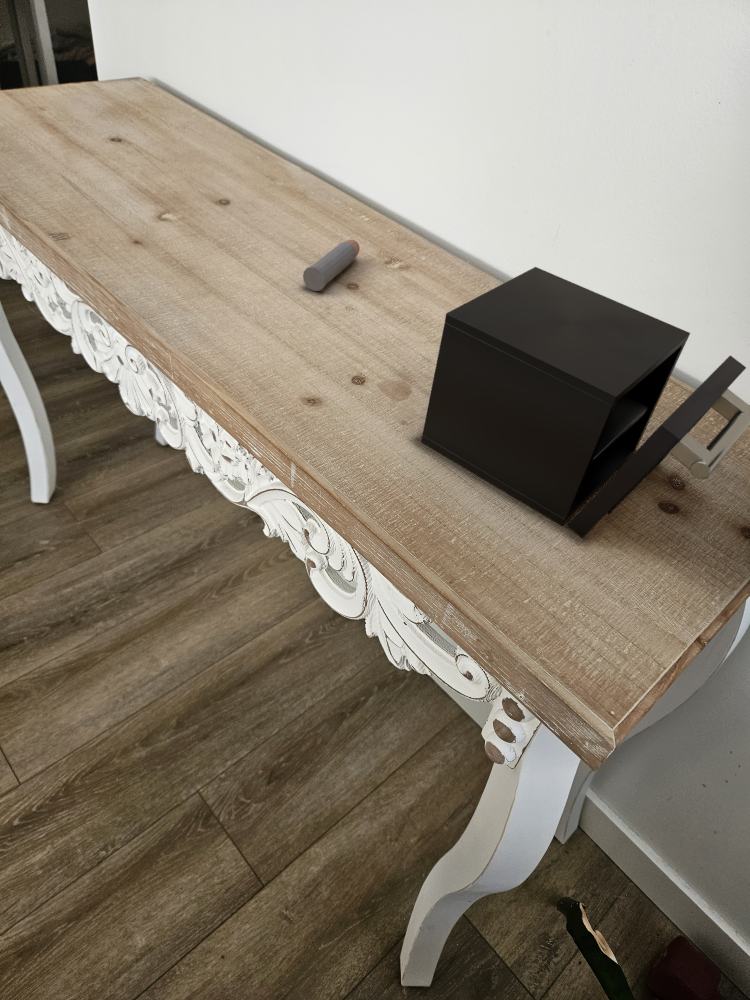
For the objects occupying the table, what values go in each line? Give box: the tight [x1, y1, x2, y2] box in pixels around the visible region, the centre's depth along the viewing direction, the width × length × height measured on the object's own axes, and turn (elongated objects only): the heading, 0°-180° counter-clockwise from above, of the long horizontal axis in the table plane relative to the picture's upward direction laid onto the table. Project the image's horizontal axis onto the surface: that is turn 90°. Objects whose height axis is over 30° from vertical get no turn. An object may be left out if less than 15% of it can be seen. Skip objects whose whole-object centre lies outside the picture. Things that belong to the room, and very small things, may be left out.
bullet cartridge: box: [302, 239, 360, 292], centre depth 86 cm, size 11×3×3 cm, turn 157°
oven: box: [420, 266, 691, 527], centre depth 61 cm, size 15×14×13 cm
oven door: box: [567, 355, 750, 539], centre depth 57 cm, size 5×14×13 cm, turn 139°
